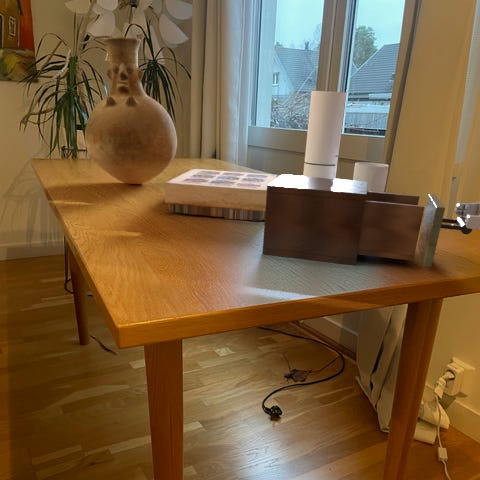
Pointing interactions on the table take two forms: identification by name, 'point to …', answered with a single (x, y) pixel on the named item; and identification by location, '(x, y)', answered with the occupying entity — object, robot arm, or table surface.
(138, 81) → the vase
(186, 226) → the table surface
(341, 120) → the cylindrical container
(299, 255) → the cabinet
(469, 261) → the table surface
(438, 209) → the drawer
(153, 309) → the table surface
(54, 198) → the table surface
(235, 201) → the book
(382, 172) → the mug
